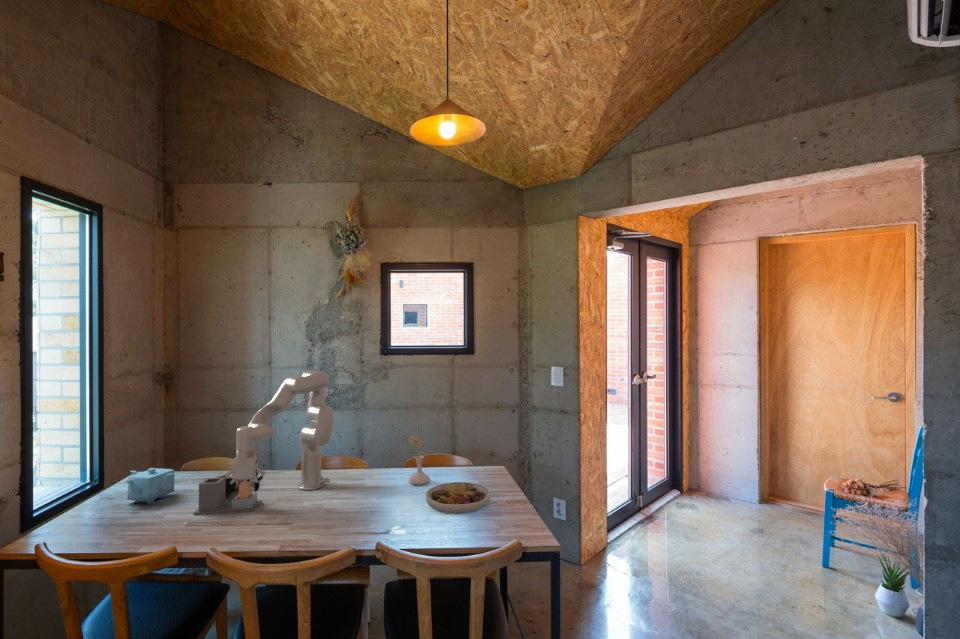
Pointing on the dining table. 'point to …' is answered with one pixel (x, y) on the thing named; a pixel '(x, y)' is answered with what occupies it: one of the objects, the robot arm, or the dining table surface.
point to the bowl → (457, 497)
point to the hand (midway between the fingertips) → (245, 491)
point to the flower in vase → (418, 463)
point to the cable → (228, 485)
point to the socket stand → (222, 499)
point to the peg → (245, 490)
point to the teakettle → (150, 484)
